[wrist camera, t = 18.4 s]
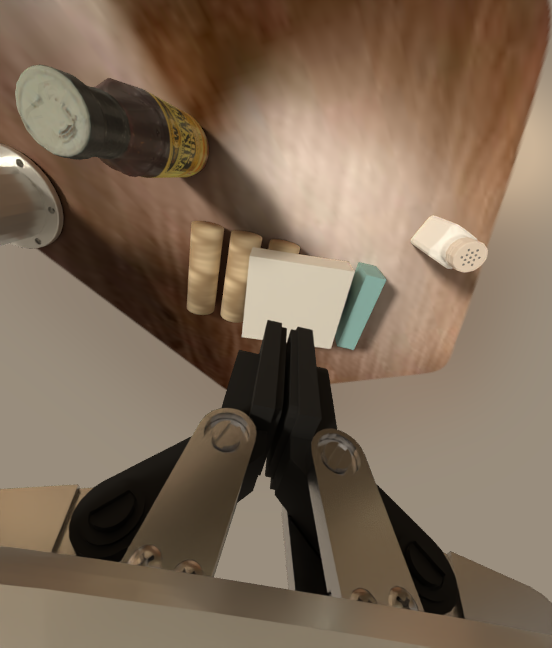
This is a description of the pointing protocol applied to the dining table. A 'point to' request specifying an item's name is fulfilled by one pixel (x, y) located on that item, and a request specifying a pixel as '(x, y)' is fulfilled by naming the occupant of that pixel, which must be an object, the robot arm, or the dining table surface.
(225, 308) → the roller track
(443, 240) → the pepper shaker
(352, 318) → the block
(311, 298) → the slab
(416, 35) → the dining table surface
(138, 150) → the sauce bottle
